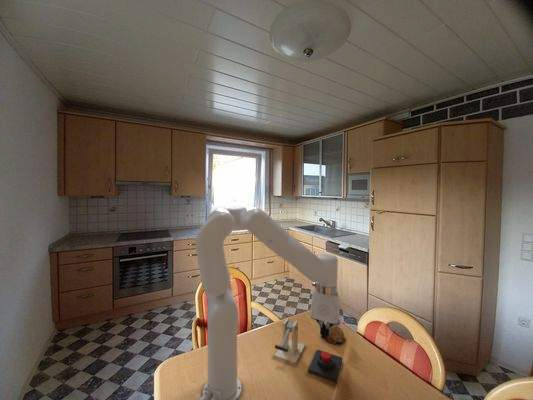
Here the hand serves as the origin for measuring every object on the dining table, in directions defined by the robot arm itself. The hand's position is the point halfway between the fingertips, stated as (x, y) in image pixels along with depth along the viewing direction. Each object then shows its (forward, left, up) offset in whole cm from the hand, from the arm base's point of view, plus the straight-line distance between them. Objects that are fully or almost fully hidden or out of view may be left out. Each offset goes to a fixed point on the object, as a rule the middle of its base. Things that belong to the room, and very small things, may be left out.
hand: (324, 336), depth 85 cm
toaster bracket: (+2, +15, -12) cm, 19 cm away
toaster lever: (-1, +15, -4) cm, 15 cm away
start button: (0, 0, -9) cm, 9 cm away
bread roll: (+19, +1, -12) cm, 23 cm away
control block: (0, 0, -12) cm, 12 cm away
